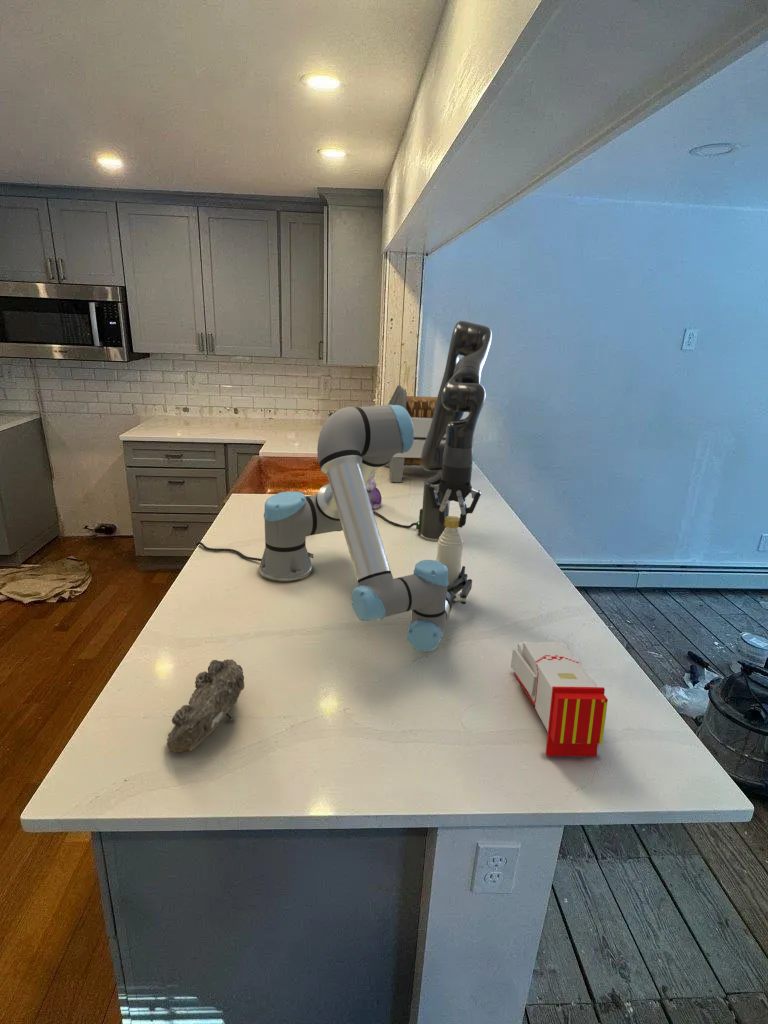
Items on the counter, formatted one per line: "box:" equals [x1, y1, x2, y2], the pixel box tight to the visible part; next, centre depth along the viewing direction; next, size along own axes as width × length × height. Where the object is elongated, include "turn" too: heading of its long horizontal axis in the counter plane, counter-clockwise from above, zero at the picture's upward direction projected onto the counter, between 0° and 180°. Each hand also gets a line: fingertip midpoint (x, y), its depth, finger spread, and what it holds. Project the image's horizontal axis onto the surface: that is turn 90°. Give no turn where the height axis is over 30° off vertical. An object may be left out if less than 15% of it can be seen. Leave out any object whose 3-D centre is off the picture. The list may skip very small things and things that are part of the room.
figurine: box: [365, 471, 383, 510], centre depth 223 cm, size 9×10×15 cm
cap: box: [444, 515, 460, 529], centre depth 149 cm, size 4×4×2 cm
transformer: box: [384, 384, 463, 483], centre depth 268 cm, size 34×33×41 cm
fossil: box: [166, 658, 245, 754], centre depth 106 cm, size 22×10×15 cm
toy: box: [510, 641, 609, 758], centre depth 113 cm, size 12×13×30 cm
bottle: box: [435, 527, 464, 596], centre depth 153 cm, size 7×7×23 cm
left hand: (450, 568), depth 159 cm, fingers closed on bottle, 7 cm apart
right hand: (451, 525), depth 150 cm, fingers closed on cap, 4 cm apart
